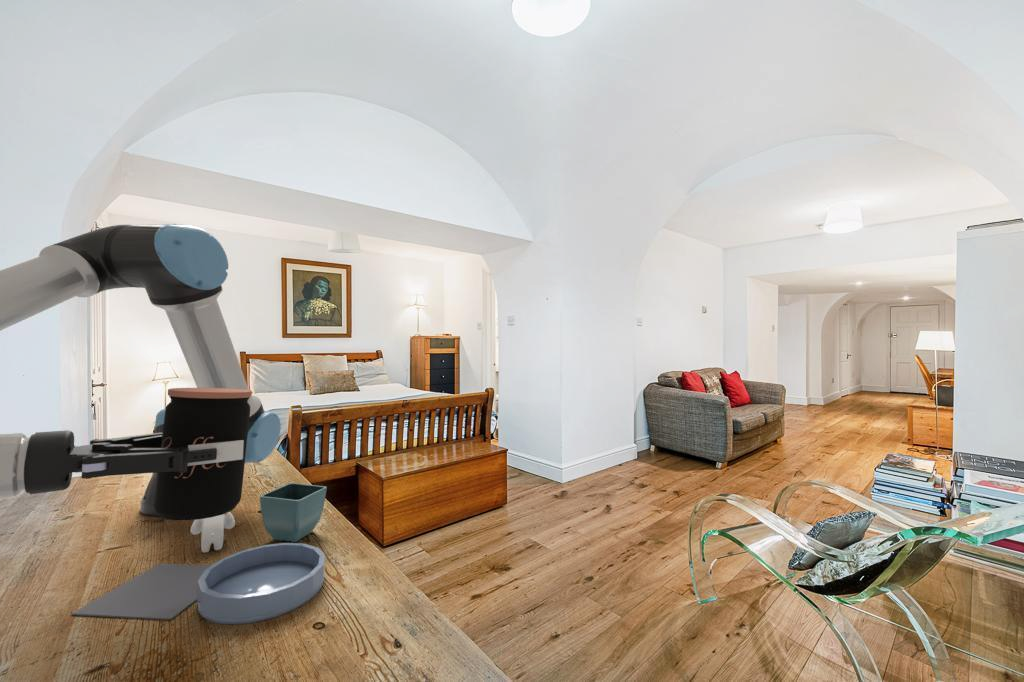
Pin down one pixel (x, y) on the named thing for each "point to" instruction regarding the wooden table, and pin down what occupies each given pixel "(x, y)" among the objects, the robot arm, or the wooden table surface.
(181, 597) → the mat
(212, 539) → the elephant figurine
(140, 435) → the robot arm
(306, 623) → the wooden table surface
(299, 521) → the flower pot
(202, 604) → the bowl
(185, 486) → the coffee jar
